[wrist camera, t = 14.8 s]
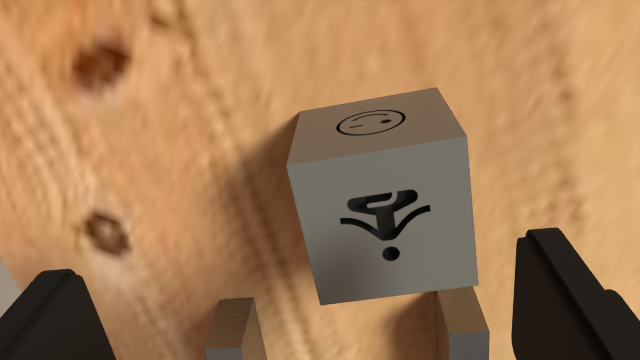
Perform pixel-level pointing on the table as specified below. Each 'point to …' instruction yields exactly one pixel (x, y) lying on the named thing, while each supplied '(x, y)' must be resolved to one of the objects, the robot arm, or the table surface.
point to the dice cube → (384, 197)
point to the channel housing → (452, 329)
